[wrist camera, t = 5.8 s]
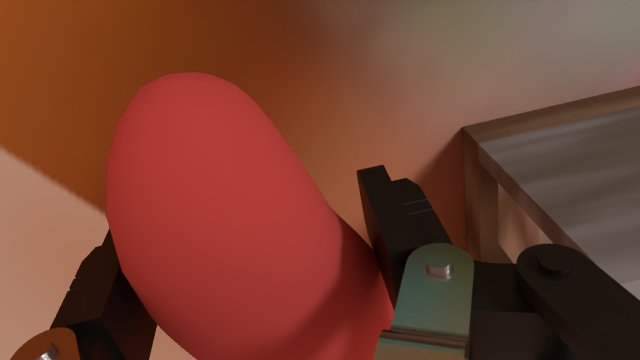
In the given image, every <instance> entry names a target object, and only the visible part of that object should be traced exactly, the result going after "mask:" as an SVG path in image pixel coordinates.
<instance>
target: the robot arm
mask: <svg viewBox="0 0 640 360" xmlns="http://www.w3.org/2000/svg"><path fill="white" fill-rule="evenodd" d="M357 178H358V184H359V190H360V196H361V202H362V207H363V213H364V219H365V223H366V228H367V232H368V235H369V239H370V242H371V245H372V248H373V251H374V253H375V256H376V259H377V262H378V265H379V268H380V271H381V274H382V277H383V280H384V283H385V286H386V289H387V292H388V295H389V298H390V301H391V304H392V307H393V310H394V315H393V319H392V323H391V327H390V330H385V329H384V330H382V332H381V334H380V336H379V339H378V342H377V346H376V350H375V354H374V358H373V360H640V300H639V299H638V298H636V297H635V296H634V295H633V294H631V293H630V292H629V291H628V290H627V289H625V288H624V287H623V286H622V285H620V284H619V283H618V282H617V281H616V280H614V279H613V278H612V277H611V276H609V275H608V274H607V273H606V272H605V271H603V270H602V269H601V268H600V267H598V266H597V265H596V264H595V263H594V262H592V261H591V260H590V259H589V258H587V257H586V256H585V255H584V254H582V253H581V252H579V251H577V250H575V249H573V248H570V247H568V246H564V245H559V244H550V243H548V244H537V245H534V246H531V247H528V248H526V249H525V250H523V251H522V252H521V253H520V254H519V256H518V258H517V261H516V263H486V262H481V261H477V260H474V259H472V257H471V256H470V255H469V254H468V252H466V251H465V250H464V249H462V248H460V247H458V246H455V245H453V243H452V242H451V240H450V238H449V236H448V235H447V233H446V231H445V229H444V228H443V226H442V224H441V222H440V221H439V219H438V217H437V215H436V214H435V212H434V210H432V207H431V205H430V203H429V202H428V200H427V199H426V196H425V195H424V193H423V191H422V189H421V188H420V186H418V185H417V184H415V183H414V182H412V181H410V180H409V179H407V178H404V179H399V180H395V181H391V179H390V177H389V175H388V173H387V171H386V169H385V167H384V165H379V166H374V167H370V168H365V169H361V170H357ZM75 277H76V279H74V280H73V282H72V284H71V286H70V291H68V292H67V294H66V296H65V298H64V300H63V302H62V305H61V306H60V308H59V311H58V313H57V315H56V317H55V319H54V321H53V323H52V325H51V327H50V329H49V330H47V331H44V332H42V333H40V334H38V335H36V336H34V337H33V338H32V339H30V340H28V341H27V342H26V343H25V344H23V345H22V347H20V348H19V349H18V350H17V351H16V352H15V354H14V355H13V356H12V358H11V359H10V360H149V357H150V353H151V348H152V344H153V340H154V336H155V332H156V327H157V324H156V322H155V321H154V320H153V319H152V318H151V316H150V314H149V313H148V311H147V310H146V308H145V307H144V305H143V303H142V302H141V300H140V299H139V297H138V296H137V294H136V292H135V291H134V289H133V288H132V286H131V285H130V283H129V281H128V280H127V278H126V277H125V275H124V274H123V272H122V269H121V266H120V262H119V259H118V255H117V252H116V248H115V245H114V241H113V238H112V234H111V231H110V228H109V231H108V233H107V235H106V237H105V239H104V242H103V244H102V246H98V247H95V249H94V250H93V251H92V252H91V253H90V254H89V255H88V256H87V257H86V258H85V259H84V260H83V261H82V263H81V265H80V267H79V269H78V271H77V273H76V275H75Z"/></svg>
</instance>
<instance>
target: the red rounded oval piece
mask: <svg viewBox="0 0 640 360" xmlns="http://www.w3.org/2000/svg"><path fill="white" fill-rule="evenodd" d="M106 217H107V220H108V224H109V227H110V231H111V234H112V238H113V241H114V245H115V248H116V252H117V255H118V259H119V262H120V266H121V269H122V272H123V274H124V275H125V277H126V278H127V280H128V281H129V283H130V285H131V286H132V288H133V289H134V291H135V292H136V294H137V296H138V297H139V299H140V300H141V302H142V303H143V305H144V307H145V308H146V310H147V311H148V313H149V314H150V316H151V318H152V319H153V320H154V321H155V322H156V324H157V325H158V326H159V327H160V328H161V329H162V330H163V331H164V332H165V333H166V334H167V335H168V336H170V337H171V338H172V339H173V340H174V341H175V342H176V343H178V345H180V346H181V347H182V348H183V349H184V350H186V351H187V352H188V353H189V354H190V355H192V356H193V357H195V358H196V359H197V360H373V358H374V354H375V350H376V346H377V342H378V339H379V336H380V334H381V332H382V330H384V329H385V330H390V327H391V323H392V319H393V315H394V310H393V307H392V304H391V301H390V298H389V295H388V292H387V289H386V286H385V283H384V280H383V277H382V274H381V271H380V268H379V265H378V262H377V259H376V256H375V253H374V251H373V250H372V248H371V247H370V246H369V245H368V244H367V243H366V242H365V241H364V240H363V238H362V237H361V236H360V235H359V234H358V233H357V232H356V231H355V230H354V229H353V228H352V227H351V226H349V225H348V224H347V223H346V222H345V221H344V220H343V219H342V218H341V217H340V216H339V215H337V214H336V213H335V211H334V210H333V209H332V208H331V207H330V206H329V204H328V203H327V202H326V200H325V199H324V197H323V196H322V194H321V192H320V191H319V189H318V188H317V186H316V185H315V183H314V181H313V180H312V178H311V177H310V175H309V174H308V172H307V171H306V169H305V168H304V166H303V165H302V163H301V162H300V160H299V159H298V157H297V156H296V155H295V153H294V152H293V150H292V149H291V147H290V146H289V144H288V143H287V142H286V140H285V139H284V137H283V136H282V135H281V133H280V132H279V131H278V129H277V128H276V126H275V125H274V124H273V123H272V121H271V120H270V119H269V118H268V116H267V115H266V114H265V113H264V111H263V110H262V109H261V108H260V106H259V105H258V104H257V103H256V102H255V101H254V100H253V99H252V98H250V97H249V96H248V95H247V94H246V93H245V92H244V91H242V90H241V89H240V88H239V87H238V86H236V85H234V84H233V83H230V82H228V81H226V80H223V79H221V78H219V77H217V76H214V75H211V74H207V73H201V72H184V73H171V74H167V75H164V76H162V77H160V78H158V79H156V80H154V81H152V82H150V83H148V84H145V85H143V86H142V87H140V88H139V90H138V91H137V93H136V94H135V96H134V97H133V99H132V100H131V102H130V103H129V105H128V106H127V108H126V109H125V111H124V112H123V114H122V115H121V117H120V118H119V121H118V124H117V127H116V131H115V134H114V138H113V141H112V145H111V148H110V152H109V155H108V159H107V162H106Z"/></svg>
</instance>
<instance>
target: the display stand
mask: <svg viewBox="0 0 640 360" xmlns="http://www.w3.org/2000/svg"><path fill="white" fill-rule="evenodd" d="M462 131H463V155H464V179H465V204H466V228H467V252H468V254H469V255H470V256H471V257H472V259H474V260H477V261H481V262H486V263H516V261H517V258H518V256H519V254H520V253H521V252H522V251H523V250H525V249H526V248H528V247H531V246H534V245H537V244H548V243H550V244H559V245H564V246H568V247H570V248H573V249H575V250H577V251H579V252H581V253H582V254H584V255H585V256H586V257H587V258H589V259H590V260H591V261H592V262H594V263H595V264H596V265H597V266H598V267H600V268H601V269H602V270H603V271H605V272H606V273H607V274H608V275H609V276H611V277H612V278H613V279H614V280H616V281H617V282H618V283H619V284H620V285H622V286H623V287H624V288H625V289H627V290H628V291H629V292H630V293H631V294H633V295H634V296H635V297H636V298H638V299H639V300H640V86H637V87H632V88H628V89H624V90H620V91H615V92H611V93H607V94H602V95H598V96H594V97H590V98H585V99H581V100H577V101H572V102H568V103H564V104H560V105H555V106H551V107H547V108H542V109H538V110H534V111H530V112H525V113H521V114H517V115H512V116H508V117H504V118H500V119H495V120H491V121H487V122H482V123H478V124H474V125H470V126H465V127H462Z"/></svg>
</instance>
